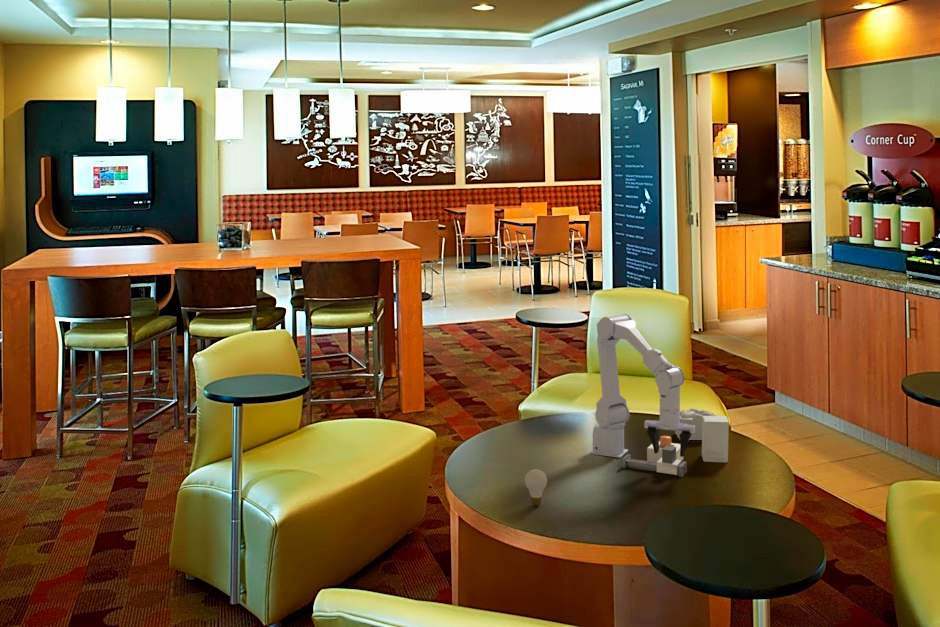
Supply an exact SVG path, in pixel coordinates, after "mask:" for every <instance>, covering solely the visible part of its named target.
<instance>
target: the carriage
mask: <svg viewBox="0 0 940 627" xmlns="http://www.w3.org/2000/svg"><path fill="white" fill-rule="evenodd" d="M681 463H682V461H681V460H676V447H674V446H665V447H664V448H663V449H662V458H661V459H660V460H658V461H657V472H656V473H661V474H668V475H674V476H678V475H677V474H678V467H679V465H680V464H681Z"/></svg>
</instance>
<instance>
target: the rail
mask: <svg viewBox="0 0 940 627" xmlns="http://www.w3.org/2000/svg"><path fill="white" fill-rule="evenodd" d="M631 457H632V454H630V453H627V454H626V455H624V457H623V456H622V457H621V469H623V468H626V467H629V468H628V469H636V470H641V471H648V472H649V471H650V472H655V471H656V473H658V472H657V462H650V461H647V460H642V459H634V458H631ZM687 463H688V462H687V461H683V460H682V461H681V464H680V465H679V467H678V474H677V475H676V476H678V477H681V478H682V477H684V475H685V474H686V473H687V468H688V467H687V466H688V465H687Z"/></svg>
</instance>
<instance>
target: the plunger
mask: <svg viewBox="0 0 940 627" xmlns="http://www.w3.org/2000/svg"><path fill="white" fill-rule="evenodd" d="M659 441H660V447H662V448H664V447H665V446H671V443H672V436H670V435H661V436H660V435H659Z"/></svg>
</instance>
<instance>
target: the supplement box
mask: <svg viewBox="0 0 940 627" xmlns="http://www.w3.org/2000/svg"><path fill="white" fill-rule="evenodd" d="M729 423H730V422H729V420H728V416H726V415H716V416H703V420H702V441H701V457H702V460H703V462H704V463H705V462H706V463H710V462H711V463H729V428H730V427H729V425H730V424H729Z"/></svg>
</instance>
